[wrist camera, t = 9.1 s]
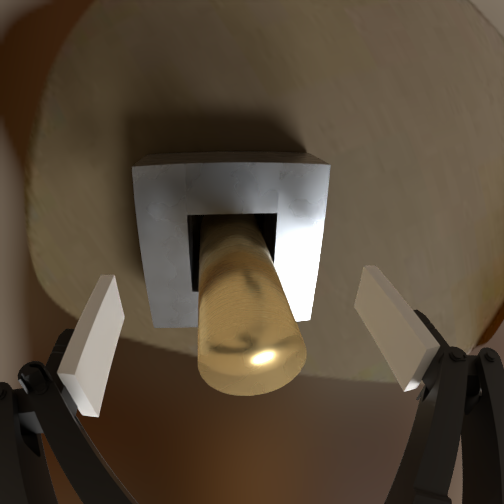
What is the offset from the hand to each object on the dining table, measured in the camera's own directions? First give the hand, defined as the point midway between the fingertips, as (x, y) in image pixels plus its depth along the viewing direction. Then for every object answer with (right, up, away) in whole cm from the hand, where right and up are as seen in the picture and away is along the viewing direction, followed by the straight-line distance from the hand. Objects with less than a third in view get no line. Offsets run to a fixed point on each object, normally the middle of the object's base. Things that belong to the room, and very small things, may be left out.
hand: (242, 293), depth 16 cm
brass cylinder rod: (-1, +4, +9) cm, 10 cm away
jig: (-1, +4, +9) cm, 10 cm away
